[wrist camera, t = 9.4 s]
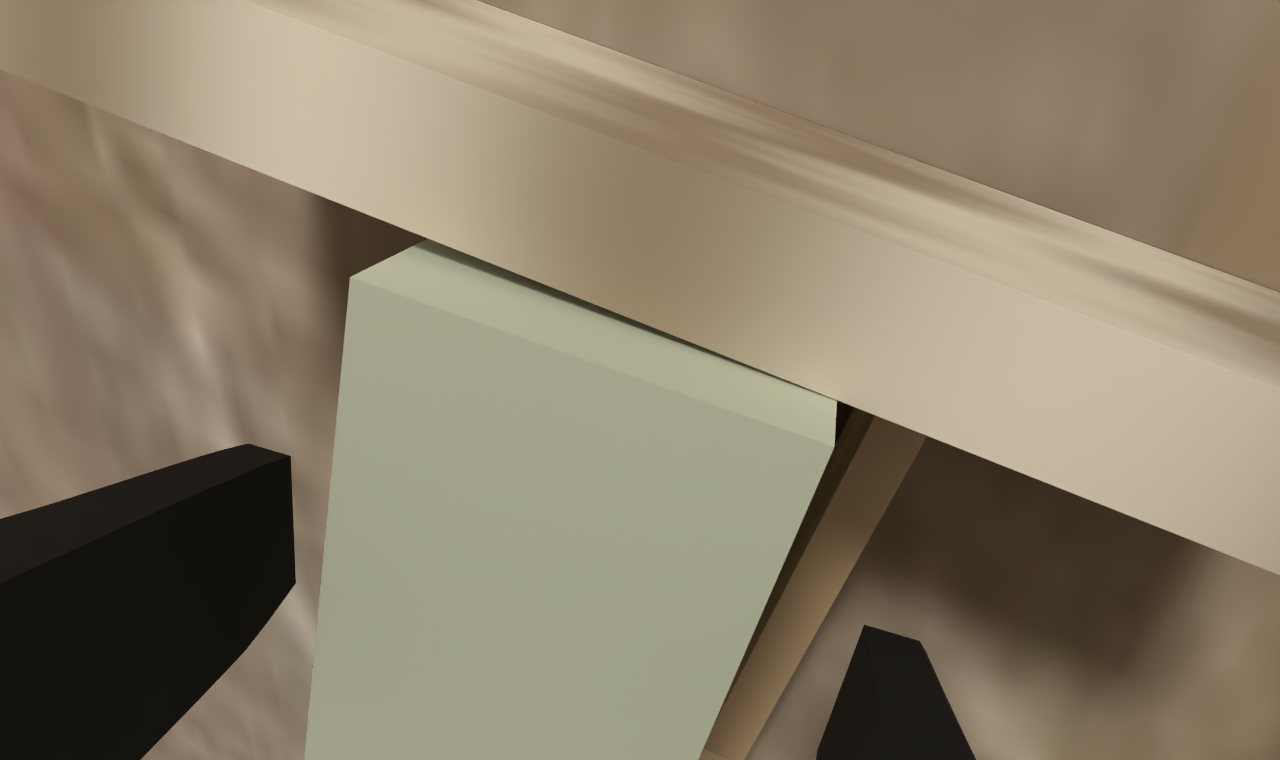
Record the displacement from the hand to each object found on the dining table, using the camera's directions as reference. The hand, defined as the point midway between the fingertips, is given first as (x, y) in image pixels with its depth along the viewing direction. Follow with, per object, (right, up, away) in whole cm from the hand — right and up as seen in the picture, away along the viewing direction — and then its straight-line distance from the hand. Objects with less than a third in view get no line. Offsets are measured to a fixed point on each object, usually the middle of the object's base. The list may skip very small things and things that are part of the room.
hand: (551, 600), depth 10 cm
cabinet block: (+1, +2, +5) cm, 6 cm away
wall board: (+1, +2, +5) cm, 6 cm away
